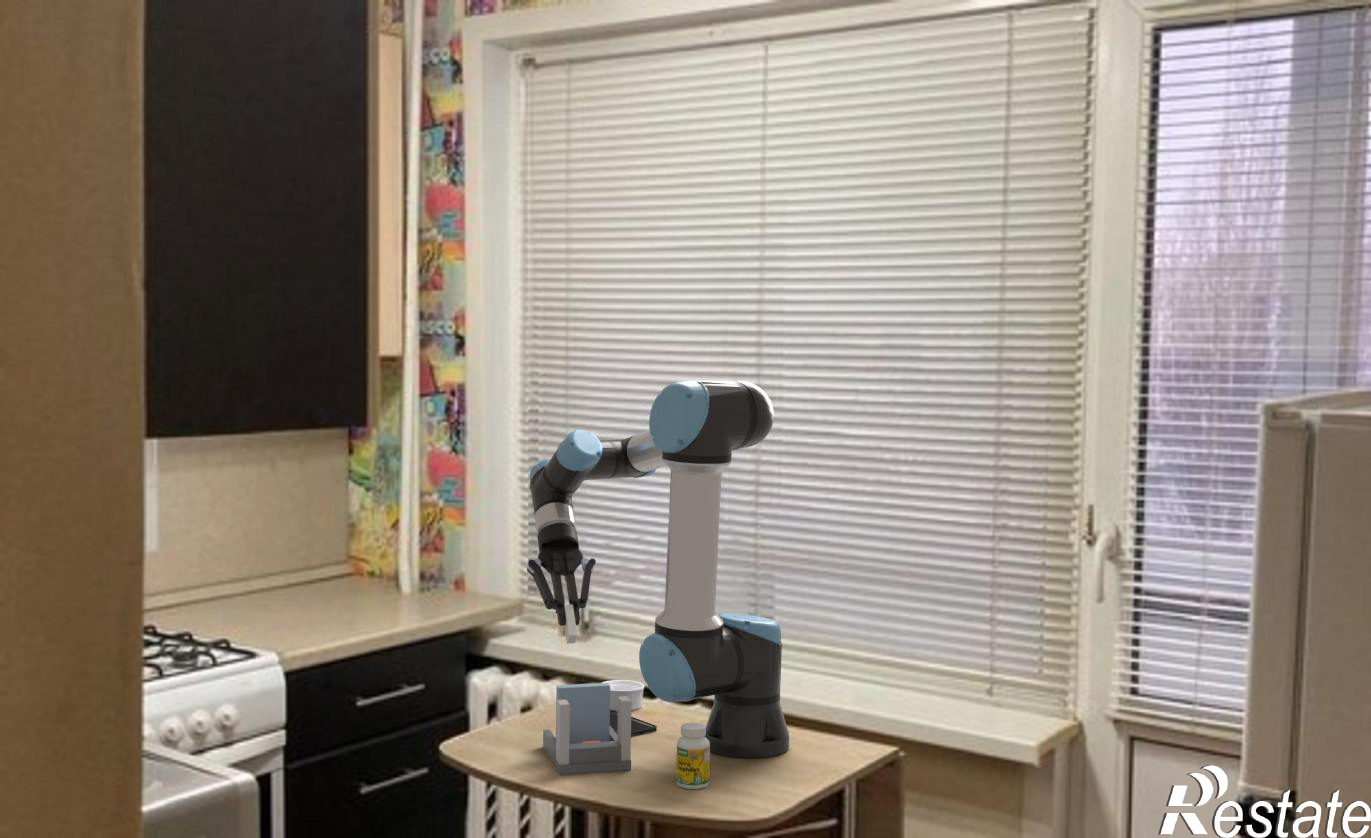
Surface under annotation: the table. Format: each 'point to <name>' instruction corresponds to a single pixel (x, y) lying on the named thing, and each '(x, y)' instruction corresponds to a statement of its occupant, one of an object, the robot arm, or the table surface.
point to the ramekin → (625, 693)
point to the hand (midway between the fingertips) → (572, 639)
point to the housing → (590, 744)
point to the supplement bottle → (693, 757)
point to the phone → (632, 725)
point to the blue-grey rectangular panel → (587, 711)
